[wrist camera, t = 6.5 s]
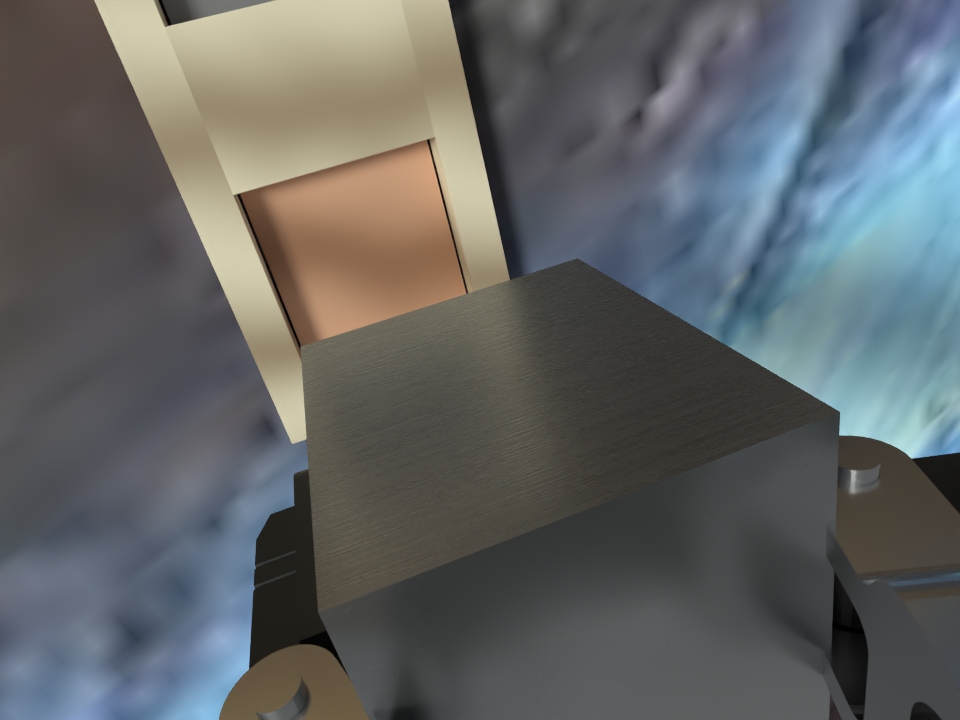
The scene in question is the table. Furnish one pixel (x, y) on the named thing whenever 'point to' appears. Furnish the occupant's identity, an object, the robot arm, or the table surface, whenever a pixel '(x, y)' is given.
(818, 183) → the table surface
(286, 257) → the beige flat rectangular frame
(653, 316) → the grey block
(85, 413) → the table surface
